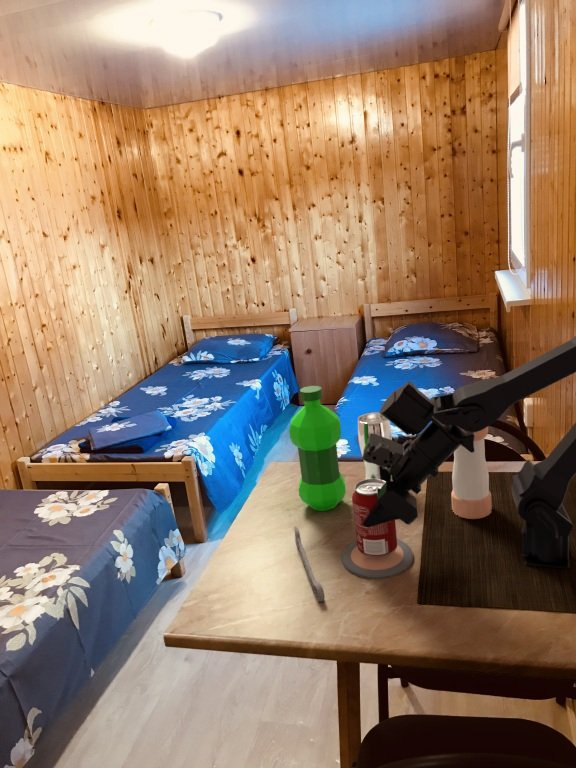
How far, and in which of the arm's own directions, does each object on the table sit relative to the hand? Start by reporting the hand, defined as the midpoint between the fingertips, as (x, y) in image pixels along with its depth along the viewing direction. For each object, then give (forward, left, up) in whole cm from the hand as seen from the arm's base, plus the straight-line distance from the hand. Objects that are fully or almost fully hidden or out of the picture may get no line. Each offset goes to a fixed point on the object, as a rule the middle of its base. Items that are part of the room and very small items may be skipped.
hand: (366, 514), depth 104 cm
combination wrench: (+10, +5, -9) cm, 14 cm away
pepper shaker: (-15, -19, -8) cm, 26 cm away
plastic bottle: (+14, -17, -8) cm, 24 cm away
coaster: (-1, 0, -8) cm, 8 cm away
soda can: (-1, 0, -7) cm, 7 cm away
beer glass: (+5, -28, -8) cm, 30 cm away
